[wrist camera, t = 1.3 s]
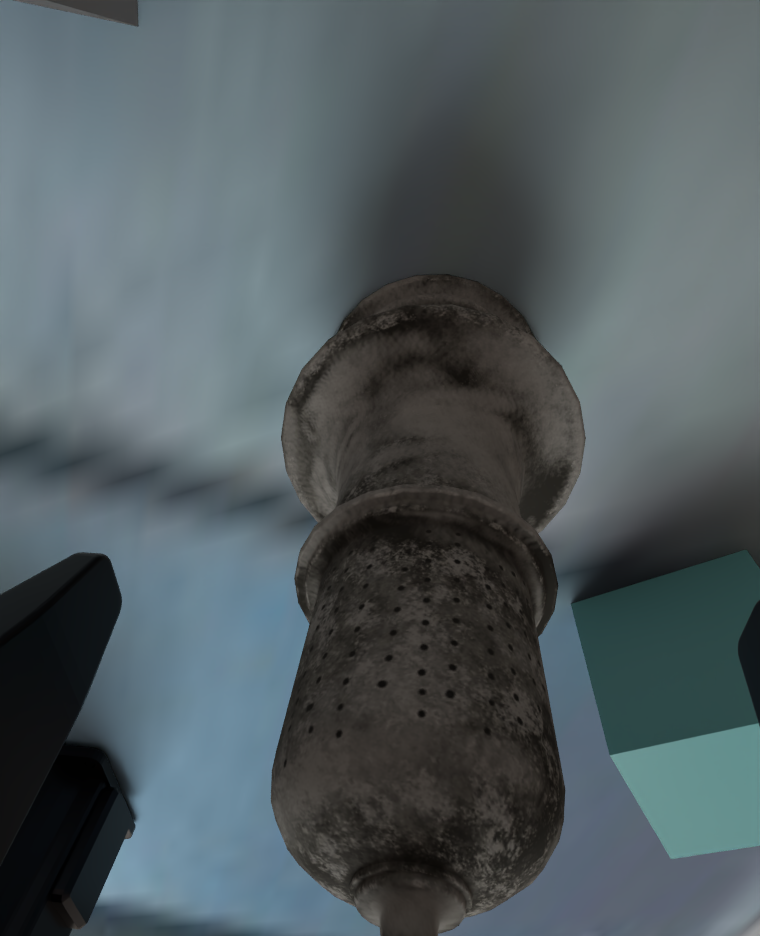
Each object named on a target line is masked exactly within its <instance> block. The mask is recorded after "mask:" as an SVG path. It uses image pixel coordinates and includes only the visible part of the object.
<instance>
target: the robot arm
mask: <svg viewBox="0 0 760 936" xmlns="http://www.w3.org/2000/svg"><path fill="white" fill-rule="evenodd" d="M121 605H122V597H121V592H120V589H119V586H118V583H117V579H116V576H115V573H114V570H113V567H112V563H111V561H110V559H109V558H108V557H107V556H106V555H104V554H99V553H84V552H82V553H76V554H73V555H71V556H70V557H68V558H66V559H64V560H62V561H61V562H59V563H57V564H55V565H53V566H51V567H50V568H48V569H46V570H44V571H42V572H41V573H39V574H37V575H35V576H33V577H32V578H30V579H28V580H26V581H24V582H22V583H21V584H19V585H17V586H15V587H13V588H12V589H10V590H8V591H6V592H4V593H2V594H1V595H0V936H69V935H70V933H71V931H72V929H81V928H82V927H83V926H84V925H85V924H87V922H88V920H89V918H90V916H91V913H92V911H93V909H94V907H95V904H96V902H97V900H98V898H99V895H100V893H101V891H102V889H103V886H104V884H105V882H106V879H107V877H108V875H109V873H110V870H111V868H112V866H113V864H114V861H115V859H116V857H117V854H118V852H119V850H120V848H121V845H122V843H123V841H124V839H129V838H131V837H132V834H133V832H134V830H135V824H134V821H133V819H132V816H131V814H130V812H129V809H128V807H127V804H126V802H125V800H124V797H123V795H122V792H121V790H120V788H119V785H118V783H117V780H116V778H115V776H114V773H113V771H112V769H111V766H110V764H109V761H108V759H107V757H106V755H105V754H104V753H103V752H102V751H100V750H98V749H94V748H86V747H75V746H65V745H63V744H64V742H65V740H66V738H67V736H68V734H69V732H70V731H71V729H72V727H73V725H74V723H75V721H76V719H77V717H78V715H79V712H80V710H81V708H82V706H83V704H84V701H85V699H86V697H87V694H88V692H89V689H90V687H91V684H92V682H93V679H94V677H95V674H96V672H97V669H98V667H99V664H100V662H101V659H102V657H103V654H104V651H105V649H106V646H107V644H108V641H109V639H110V636H111V634H112V631H113V629H114V626H115V624H116V621H117V618H118V616H119V613H120V610H121ZM738 656H739V660H740V664H741V667H742V670H743V673H744V677H745V680H746V683H747V687H748V690H749V693H750V697H751V700H752V703H753V706H754V710H755V713H756V716H757V720H758V723H759V726H760V600H759V601H758V602H757V603H756V604H755V606H754V608H753V610H752V612H751V615H750V617H749V619H748V621H747V623H746V625H745V627H744V629H743V632H742V634H741V636H740V638H739V642H738Z"/></svg>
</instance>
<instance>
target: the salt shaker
mask: <svg viewBox="0 0 760 936" xmlns="http://www.w3.org/2000/svg"><path fill="white" fill-rule="evenodd" d="M585 439H586V437H585V431H584V425H583V419H582V412H581V406H580V401H579V399H578V397H577V395H576V393H575V391H574V389H573V387H572V386H571V384H570V382H569V380H568V378H567V376H566V374H565V372H564V370H563V368H562V366H561V365H560V364H559V363H558V362H557V361H556V360H555V359H554V358H553V357H552V355H551V354H550V353H549V352H548V351H547V350H546V349H545V348H544V347H543V346H542V345H541V344H540V343H539V342H538V341H537V340H536V339H535V338H534V336H533V334H532V332H531V330H530V328H529V326H528V325H527V323H526V321H525V319H524V317H523V316H522V315H521V314H520V313H519V312H518V311H517V310H516V309H515V308H514V307H513V306H512V305H511V304H510V303H509V302H508V301H507V300H506V299H505V298H504V297H503V296H502V295H500V294H498V293H496V292H495V291H493V290H491V289H489V288H488V287H486V286H484V285H482V284H480V283H479V282H476V281H472V280H468V279H464V278H460V277H456V276H452V275H448V274H444V275H416V276H413V277H409V278H406V279H403V280H399V281H396V282H393V283H390V284H387V285H385V286H384V287H382V288H381V289H379V290H377V291H376V292H374V293H373V294H371V295H370V296H368V297H366V298H365V299H363V300H362V301H361V302H360V303H359V304H358V305H357V307H356V308H355V309H354V310H353V311H352V312H351V313H350V314H349V315H348V317H347V318H346V319H345V320H344V321H343V323H342V325H341V327H340V329H339V331H338V333H337V335H335V336H334V337H332V338H330V339H329V340H328V341H327V342H326V343H325V344H324V345H323V346H322V347H321V349H320V350H319V351H318V352H317V353H316V354H315V355H314V356H313V357H312V358H311V360H310V361H309V362H308V363H307V364H306V365H305V366H304V367H303V368H302V370H301V372H300V375H299V377H298V379H297V381H296V383H295V385H294V387H293V389H292V392H291V394H290V396H289V398H288V400H287V402H286V406H285V413H284V420H283V427H282V435H281V441H282V447H283V453H284V460H285V466H286V471H287V474H288V476H289V478H290V480H291V482H292V484H293V487H294V489H295V491H296V493H297V495H298V497H299V499H300V501H301V502H302V504H303V505H304V506H305V507H306V509H307V510H308V511H309V512H310V513H311V515H312V516H313V517H314V518H315V519H316V521H317V522H318V524H317V525H316V526H314V528H313V530H312V531H311V533H310V535H309V536H308V538H307V540H306V541H305V543H304V545H303V546H302V548H301V550H300V553H299V557H298V563H297V568H296V573H295V578H294V579H295V585H296V591H297V597H298V603H299V605H300V607H301V609H302V610H303V612H304V614H305V616H306V618H307V620H308V622H309V624H310V625H309V629H308V632H307V636H306V640H305V644H304V648H303V651H302V655H301V659H300V663H299V667H298V670H297V674H296V678H295V682H294V686H293V689H292V693H291V697H290V701H289V705H288V708H287V712H286V716H285V720H284V724H283V727H282V731H281V735H280V739H279V743H278V746H277V750H276V755H275V759H274V764H273V768H272V783H271V804H272V808H273V812H274V815H275V819H276V822H277V825H278V827H279V830H280V832H281V835H282V837H283V839H284V842H285V844H286V847H287V849H288V851H289V852H290V853H291V855H292V856H293V857H294V859H295V860H296V861H297V863H298V864H299V865H300V866H301V867H302V868H303V869H304V870H305V871H306V872H307V873H308V874H309V875H310V876H311V877H312V878H313V879H314V880H315V881H317V882H318V883H319V884H320V885H321V886H322V887H323V888H325V889H326V890H327V891H328V892H330V893H331V894H332V895H334V896H335V897H337V898H339V899H341V900H343V901H345V902H347V903H349V904H351V905H353V906H355V907H356V908H357V910H358V912H359V913H360V914H361V916H362V917H363V918H365V919H366V920H367V921H368V922H370V923H372V924H374V925H376V926H378V927H380V934H381V936H438V933H443V932H446V931H449V930H452V929H454V928H455V927H457V926H459V924H460V923H461V922H462V920H463V919H464V917H470V916H474V915H477V914H480V913H483V912H486V911H489V910H492V909H493V908H495V907H497V906H498V905H500V904H501V903H503V902H505V901H506V900H508V899H509V898H511V897H512V896H514V895H515V894H517V893H518V892H520V891H521V890H523V889H524V888H526V887H527V886H529V885H530V884H532V883H533V881H534V880H535V879H536V878H537V876H538V875H539V874H540V873H541V872H542V870H543V869H544V867H545V865H546V864H547V862H548V860H549V858H550V856H551V855H552V853H553V851H554V849H555V848H556V846H557V844H558V842H559V839H560V835H561V831H562V826H563V822H564V802H565V786H564V780H563V774H562V769H561V763H560V758H559V752H558V747H557V741H556V735H555V730H554V724H553V719H552V713H551V708H550V702H549V696H548V691H547V685H546V680H545V674H544V669H543V663H542V658H541V652H540V646H539V641H538V636H540V635H541V634H542V632H543V630H544V628H545V627H546V625H547V623H548V621H549V619H550V618H551V616H552V614H553V612H554V610H555V603H556V597H557V590H558V582H557V577H556V573H555V568H554V564H553V559H552V555H551V553H550V552H549V550H548V549H547V547H546V545H545V544H544V542H543V541H542V539H541V538H540V536H539V534H538V533H539V532H541V531H542V530H543V529H544V528H545V527H546V526H547V525H548V523H549V522H550V521H551V520H552V519H553V518H554V517H555V515H556V514H557V513H558V512H559V511H560V510H561V509H562V507H563V506H564V505H565V504H566V502H567V500H568V498H569V495H570V493H571V491H572V489H573V487H574V485H575V483H576V481H577V479H578V477H579V475H580V471H581V465H582V459H583V452H584V446H585Z"/></svg>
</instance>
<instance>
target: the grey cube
mask: <svg viewBox="0 0 760 936" xmlns="http://www.w3.org/2000/svg"><path fill="white" fill-rule="evenodd" d="M15 1H19V2H24V3H29V4H33V5H38V6H43V7H48V8H52V9H57V10H62V11H66V12H71V13H76V14H81V15H85V16H90V17H95V18H100V19H104V20H109V21H114V22H118V23H123V24H128V25H133V26H137V27H138V3H137V0H15Z"/></svg>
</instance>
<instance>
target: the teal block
mask: <svg viewBox="0 0 760 936" xmlns="http://www.w3.org/2000/svg"><path fill="white" fill-rule="evenodd" d="M759 600H760V569H759V567H758V566H757V564H756V563H755V561H754V560H753V558H752V557H751V556H750V554H749V553H748V551H747V550H743V551H739V552H736V553H733V554H730V555H727V556H723V557H720V558H717V559H714V560H710V561H707V562H704V563H701V564H698V565H694V566H691V567H688V568H685V569H682V570H678V571H675V572H672V573H669V574H666V575H662V576H659V577H656V578H653V579H649V580H646V581H643V582H640V583H637V584H633V585H630V586H627V587H624V588H621V589H617V590H614V591H611V592H608V593H604V594H601V595H598V596H595V597H592V598H588V599H585V600H582V601H579V602H576V603H572V604H571V606H572V610H573V614H574V618H575V622H576V626H577V629H578V633H579V637H580V641H581V645H582V649H583V653H584V657H585V661H586V664H587V668H588V672H589V676H590V680H591V684H592V688H593V692H594V695H595V699H596V703H597V707H598V711H599V715H600V719H601V723H602V727H603V730H604V734H605V738H606V742H607V746H608V750H609V754H610V756H611V758H612V760H613V761H614V763H615V765H616V767H617V768H618V770H619V772H620V773H621V775H622V777H623V778H624V780H625V782H626V783H627V785H628V787H629V789H630V790H631V792H632V794H633V795H634V797H635V799H636V800H637V802H638V804H639V805H640V807H641V809H642V811H643V812H644V814H645V816H646V817H647V819H648V821H649V822H650V824H651V826H652V828H653V829H654V831H655V833H656V834H657V836H658V838H659V839H660V841H661V843H662V844H663V846H664V848H665V850H666V851H667V853H668V855H669V856H670V858H671V859H674V858H681V857H688V856H694V855H701V854H708V853H714V852H721V851H727V850H734V849H741V848H747V847H754V846H760V726H759V723H758V720H757V716H756V713H755V710H754V706H753V703H752V700H751V697H750V693H749V690H748V687H747V683H746V680H745V677H744V673H743V670H742V667H741V664H740V660H739V656H738V642H739V638H740V636H741V634H742V632H743V629H744V627H745V625H746V623H747V621H748V619H749V617H750V615H751V612H752V610H753V608H754V606H755V604H756V603H757V602H758V601H759Z"/></svg>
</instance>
